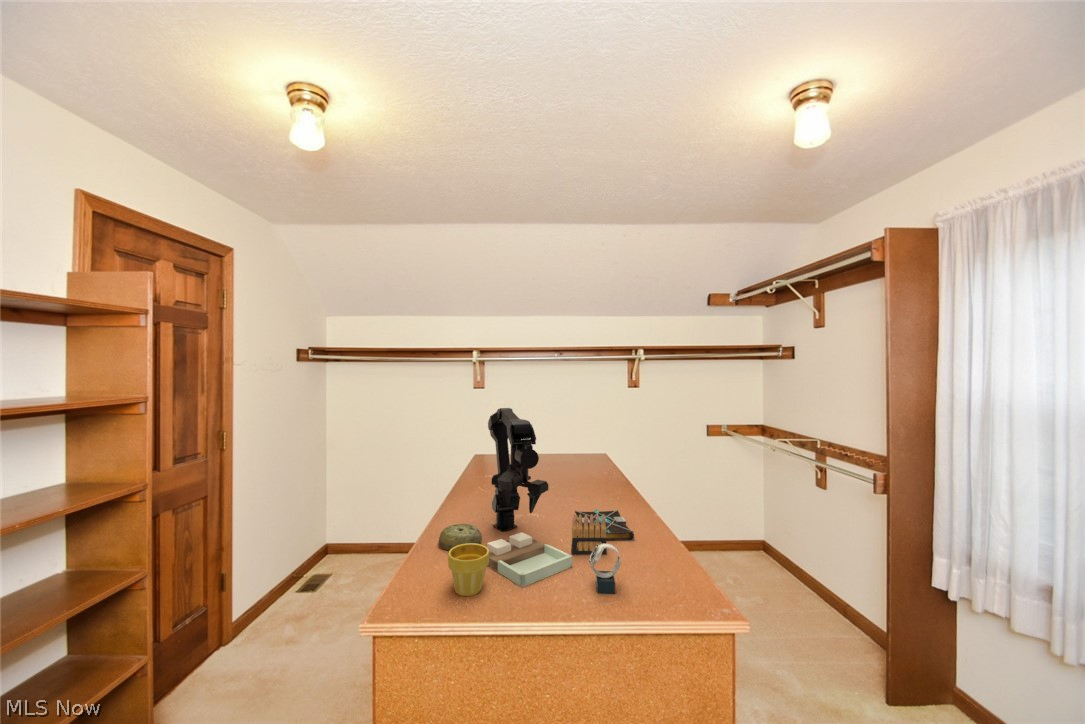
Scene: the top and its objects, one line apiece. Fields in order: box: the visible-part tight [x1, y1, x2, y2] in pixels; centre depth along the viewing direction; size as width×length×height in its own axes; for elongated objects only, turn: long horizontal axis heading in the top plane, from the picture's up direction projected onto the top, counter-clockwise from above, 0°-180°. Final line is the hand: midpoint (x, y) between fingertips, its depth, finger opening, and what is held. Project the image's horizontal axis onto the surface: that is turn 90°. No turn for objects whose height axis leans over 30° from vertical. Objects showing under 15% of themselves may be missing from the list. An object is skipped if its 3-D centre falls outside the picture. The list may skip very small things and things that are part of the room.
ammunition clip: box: [570, 513, 608, 556], centre depth 133 cm, size 11×2×12 cm, turn 91°
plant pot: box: [447, 543, 489, 597], centre depth 111 cm, size 10×10×10 cm
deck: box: [487, 538, 545, 573], centre depth 130 cm, size 11×18×2 cm, turn 130°
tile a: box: [508, 531, 533, 548], centre depth 134 cm, size 5×5×2 cm
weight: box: [438, 523, 483, 551], centre depth 140 cm, size 14×13×5 cm
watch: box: [588, 543, 622, 595], centre depth 112 cm, size 6×8×11 cm
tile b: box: [486, 538, 511, 555], centre depth 129 cm, size 5×5×2 cm
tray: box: [497, 543, 573, 588], centre depth 122 cm, size 11×18×3 cm, turn 130°
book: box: [574, 508, 635, 541], centre depth 153 cm, size 22×17×5 cm
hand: (519, 509), depth 138 cm, fingers open, 9 cm apart
